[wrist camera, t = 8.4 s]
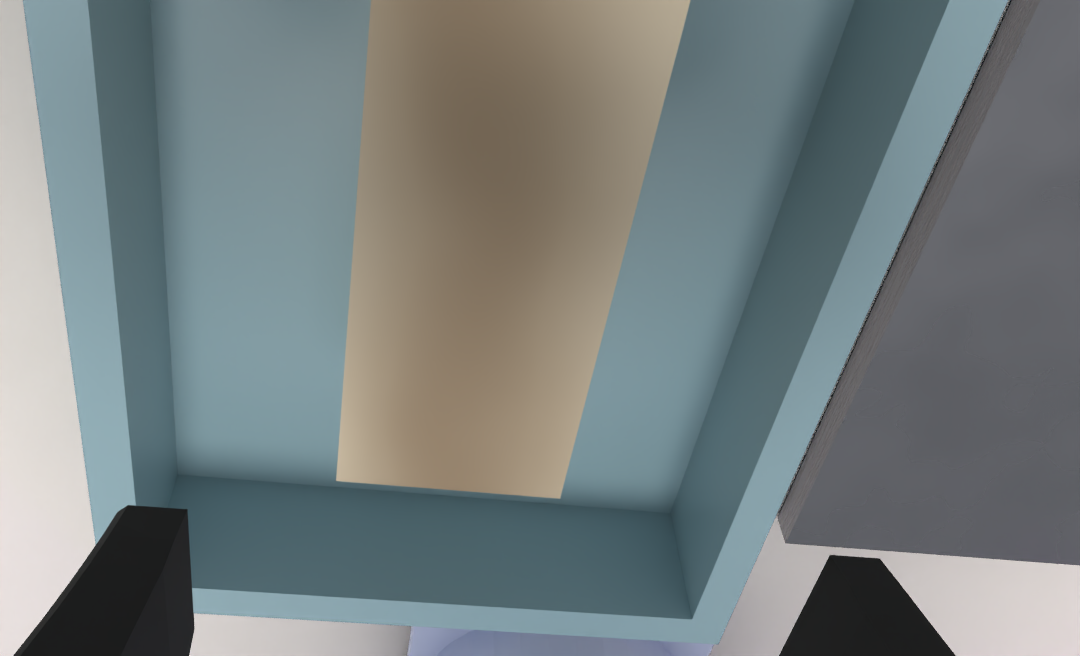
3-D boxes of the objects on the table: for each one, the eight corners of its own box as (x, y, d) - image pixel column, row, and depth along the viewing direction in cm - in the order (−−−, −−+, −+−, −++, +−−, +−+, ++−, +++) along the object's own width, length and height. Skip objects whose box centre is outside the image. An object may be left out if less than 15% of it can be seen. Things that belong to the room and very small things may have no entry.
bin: (691, 522, 25) (717, 644, 22) (147, 480, 23) (103, 607, 21) (1118, -601, 13) (1295, -638, 10) (33, -880, 11) (-114, -1018, 8)
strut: (718, -370, 14) (780, -345, 11) (548, 373, 21) (559, 498, 19) (416, -433, 13) (401, -422, 10) (354, 354, 21) (336, 481, 18)
